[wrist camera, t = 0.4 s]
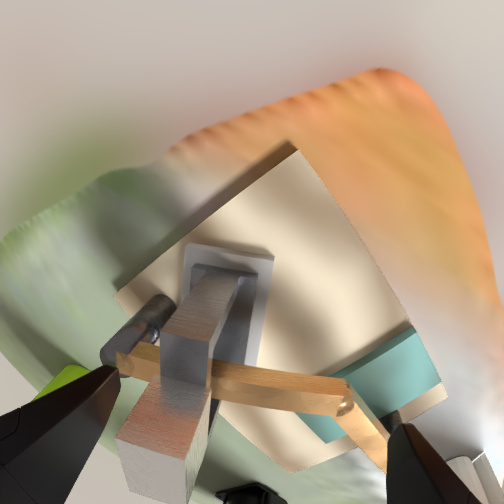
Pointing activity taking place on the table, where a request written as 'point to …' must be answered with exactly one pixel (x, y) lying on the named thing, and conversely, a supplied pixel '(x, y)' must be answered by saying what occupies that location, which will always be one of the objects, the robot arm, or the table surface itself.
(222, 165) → the table surface
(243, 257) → the beige rectangular panel
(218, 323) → the grey boxy piece
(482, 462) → the paper towel roll
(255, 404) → the wooden crank handle
